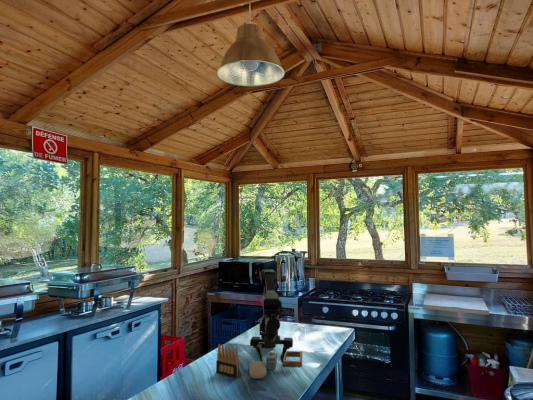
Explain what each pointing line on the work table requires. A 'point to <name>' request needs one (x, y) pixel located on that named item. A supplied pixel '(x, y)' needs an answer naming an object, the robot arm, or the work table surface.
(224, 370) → the ammunition clip
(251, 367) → the garlic bulb
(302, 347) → the work table surface
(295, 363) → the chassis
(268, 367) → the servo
